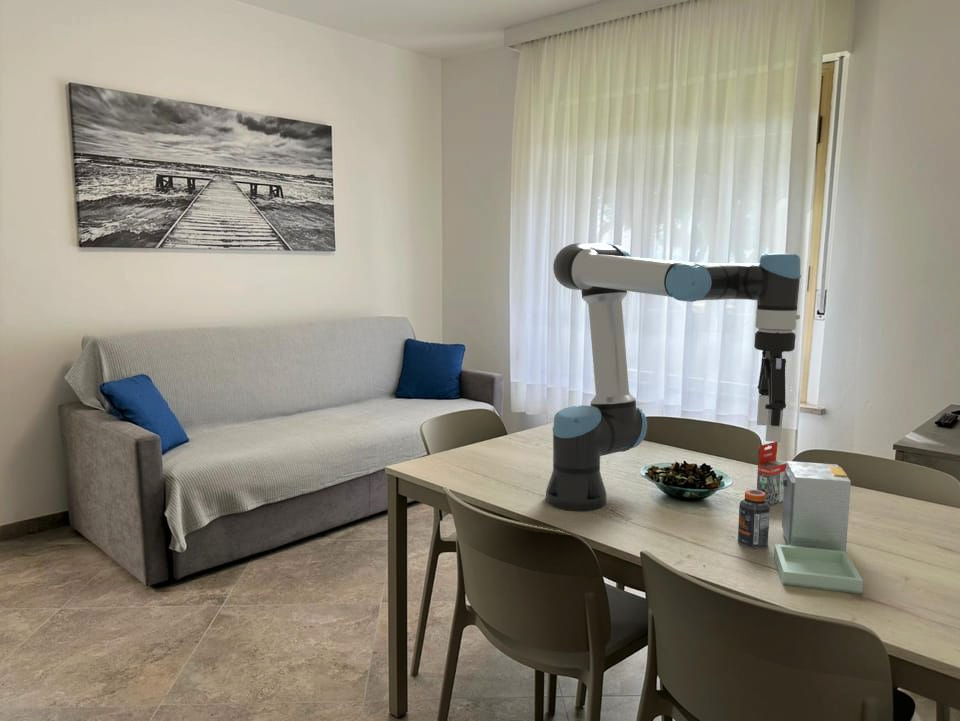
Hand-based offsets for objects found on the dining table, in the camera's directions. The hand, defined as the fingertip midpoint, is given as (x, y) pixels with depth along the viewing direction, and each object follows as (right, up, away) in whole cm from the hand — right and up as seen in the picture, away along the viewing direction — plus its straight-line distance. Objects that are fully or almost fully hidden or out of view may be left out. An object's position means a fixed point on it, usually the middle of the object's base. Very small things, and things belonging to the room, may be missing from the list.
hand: (768, 432), depth 137 cm
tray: (+4, -26, -11) cm, 28 cm away
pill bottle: (-2, -24, +3) cm, 24 cm away
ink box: (+13, -21, +29) cm, 38 cm away
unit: (+10, -24, +2) cm, 26 cm away
